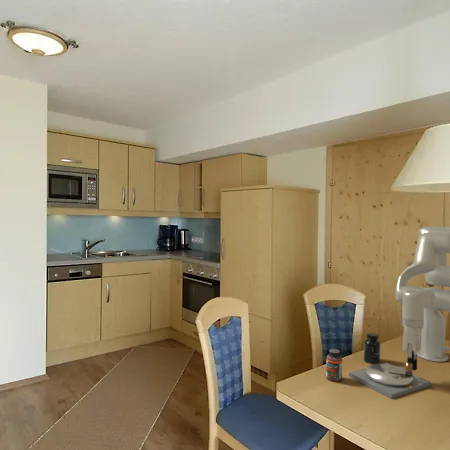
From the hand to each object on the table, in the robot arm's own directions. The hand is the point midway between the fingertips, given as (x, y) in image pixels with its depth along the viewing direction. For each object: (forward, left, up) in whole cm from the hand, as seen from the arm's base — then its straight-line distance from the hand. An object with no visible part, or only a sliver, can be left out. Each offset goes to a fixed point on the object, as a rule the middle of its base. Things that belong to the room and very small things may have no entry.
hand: (412, 368), depth 144 cm
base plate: (+8, -4, -5) cm, 10 cm away
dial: (+8, -4, -3) cm, 10 cm away
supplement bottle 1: (+26, -15, -5) cm, 30 cm away
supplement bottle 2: (-2, -21, -5) cm, 22 cm away
